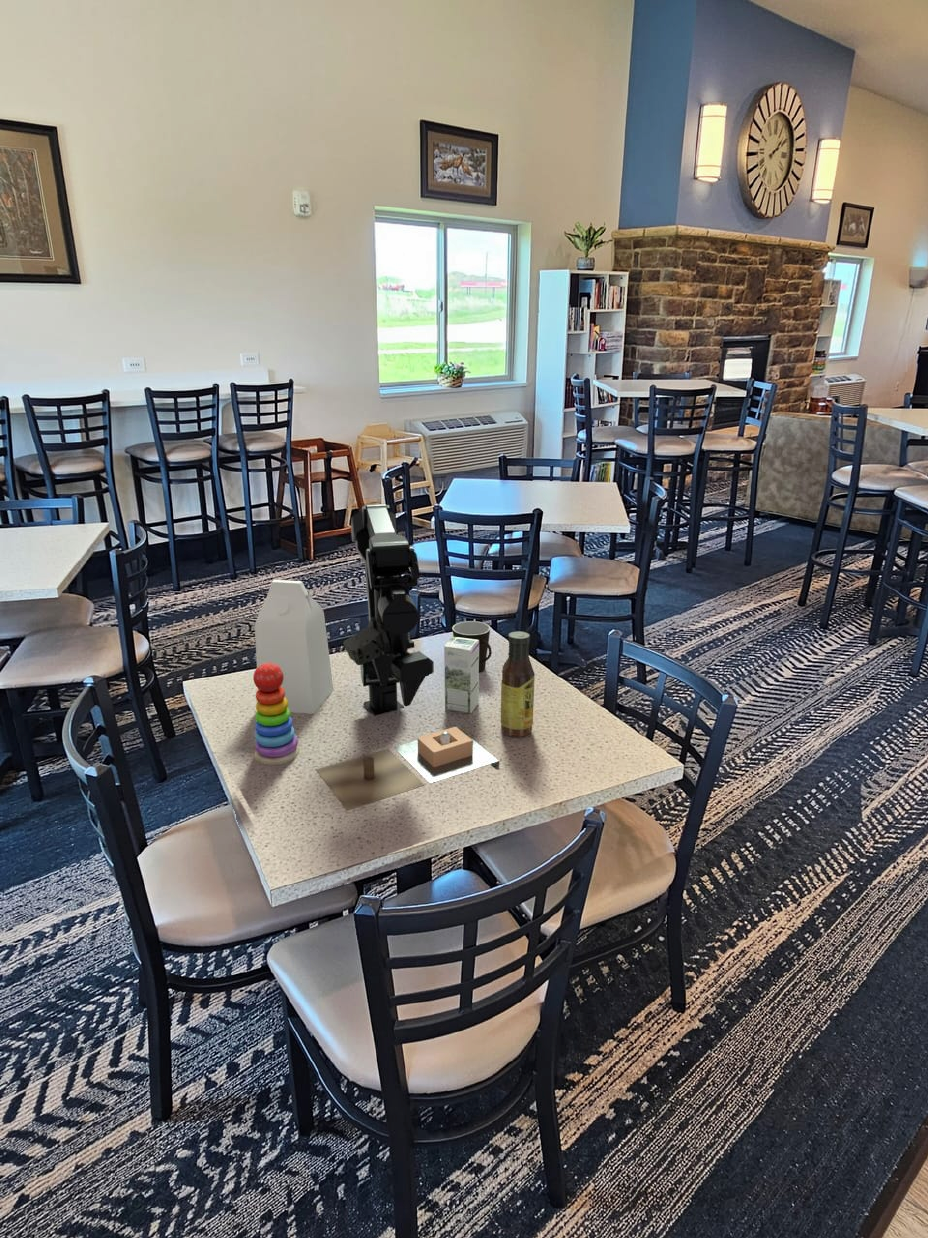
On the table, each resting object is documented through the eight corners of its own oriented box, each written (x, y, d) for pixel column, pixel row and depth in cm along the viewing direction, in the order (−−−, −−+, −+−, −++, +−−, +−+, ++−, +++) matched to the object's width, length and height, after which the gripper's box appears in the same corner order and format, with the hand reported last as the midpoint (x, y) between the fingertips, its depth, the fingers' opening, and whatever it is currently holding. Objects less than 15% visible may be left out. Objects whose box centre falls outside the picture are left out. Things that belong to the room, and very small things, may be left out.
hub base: (393, 751, 139) (392, 725, 137) (459, 732, 146) (459, 707, 144) (430, 788, 128) (429, 760, 126) (499, 765, 134) (499, 739, 133)
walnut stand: (316, 774, 132) (314, 752, 130) (388, 753, 138) (387, 731, 137) (347, 815, 120) (345, 791, 119) (424, 790, 127) (424, 767, 126)
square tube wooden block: (417, 752, 137) (417, 737, 136) (455, 740, 141) (455, 726, 140) (434, 767, 132) (433, 752, 131) (472, 755, 136) (472, 740, 135)
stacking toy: (251, 751, 139) (241, 658, 132) (295, 743, 142) (286, 651, 135) (258, 773, 132) (247, 676, 126) (304, 763, 135) (295, 668, 129)
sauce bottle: (530, 740, 143) (533, 643, 136) (497, 737, 144) (499, 640, 137) (534, 724, 149) (538, 630, 142) (503, 721, 150) (505, 627, 143)
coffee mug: (450, 661, 177) (450, 621, 174) (487, 660, 178) (487, 620, 175) (455, 682, 166) (455, 641, 163) (494, 681, 167) (495, 639, 164)
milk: (333, 689, 164) (325, 574, 154) (314, 714, 153) (304, 592, 144) (281, 685, 165) (270, 571, 156) (258, 709, 155) (245, 588, 146)
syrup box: (479, 702, 158) (480, 638, 152) (470, 715, 152) (470, 649, 147) (453, 698, 159) (453, 634, 154) (444, 711, 154) (443, 645, 149)
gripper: (326, 605, 132) (332, 686, 137) (372, 640, 117) (376, 729, 123) (384, 594, 137) (387, 672, 143) (434, 626, 122) (436, 712, 128)
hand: (395, 695), depth 134 cm, fingers open, 9 cm apart
